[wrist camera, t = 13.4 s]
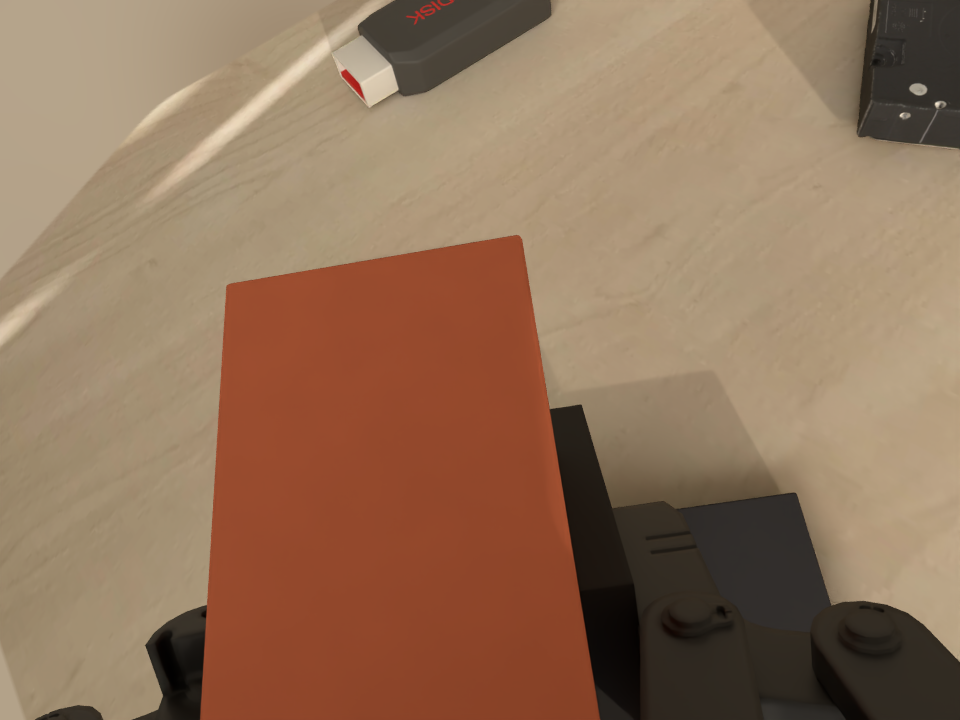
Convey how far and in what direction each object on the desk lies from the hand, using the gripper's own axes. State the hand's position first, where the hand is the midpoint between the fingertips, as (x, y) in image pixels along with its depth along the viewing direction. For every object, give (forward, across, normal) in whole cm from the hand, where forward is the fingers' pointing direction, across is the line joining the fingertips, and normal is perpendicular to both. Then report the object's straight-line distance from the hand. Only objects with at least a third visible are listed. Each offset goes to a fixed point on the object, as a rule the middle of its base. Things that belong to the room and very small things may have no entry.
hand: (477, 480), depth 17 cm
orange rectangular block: (-1, 0, -5) cm, 5 cm away
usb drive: (+33, -1, +12) cm, 35 cm away
